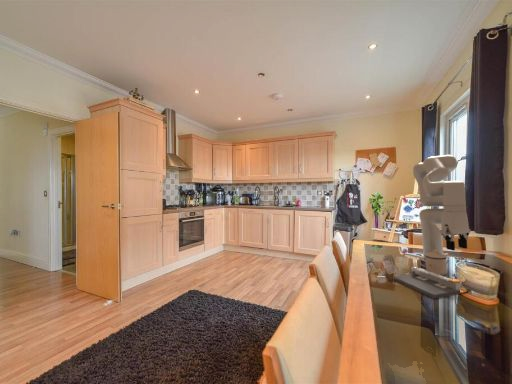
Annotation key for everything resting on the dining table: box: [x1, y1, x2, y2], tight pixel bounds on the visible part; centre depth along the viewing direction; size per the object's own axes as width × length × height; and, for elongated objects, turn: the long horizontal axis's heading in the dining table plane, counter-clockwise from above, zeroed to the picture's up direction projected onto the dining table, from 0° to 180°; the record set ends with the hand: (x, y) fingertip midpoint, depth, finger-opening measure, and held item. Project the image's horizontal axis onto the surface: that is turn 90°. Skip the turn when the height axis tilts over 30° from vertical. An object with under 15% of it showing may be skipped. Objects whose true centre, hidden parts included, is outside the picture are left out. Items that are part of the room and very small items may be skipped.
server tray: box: [393, 272, 460, 299], centre depth 105 cm, size 18×21×2 cm
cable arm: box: [410, 265, 462, 289], centre depth 105 cm, size 22×4×3 cm, turn 12°
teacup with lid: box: [417, 250, 448, 276], centre depth 120 cm, size 12×9×12 cm
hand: (456, 248), depth 101 cm, fingers open, 6 cm apart
